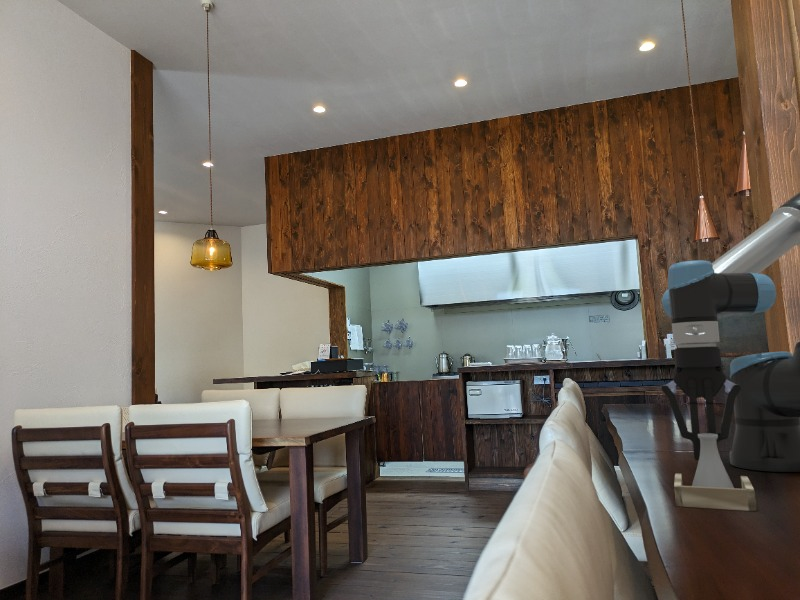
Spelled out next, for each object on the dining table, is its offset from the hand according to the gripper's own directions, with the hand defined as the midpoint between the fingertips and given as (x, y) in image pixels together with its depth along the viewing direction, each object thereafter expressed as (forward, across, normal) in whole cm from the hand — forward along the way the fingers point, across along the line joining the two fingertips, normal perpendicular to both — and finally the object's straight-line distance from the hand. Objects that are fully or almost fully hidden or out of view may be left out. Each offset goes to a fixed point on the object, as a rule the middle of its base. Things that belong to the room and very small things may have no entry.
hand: (708, 479), depth 102 cm
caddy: (+2, 0, -8) cm, 8 cm away
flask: (+2, +1, -4) cm, 4 cm away
